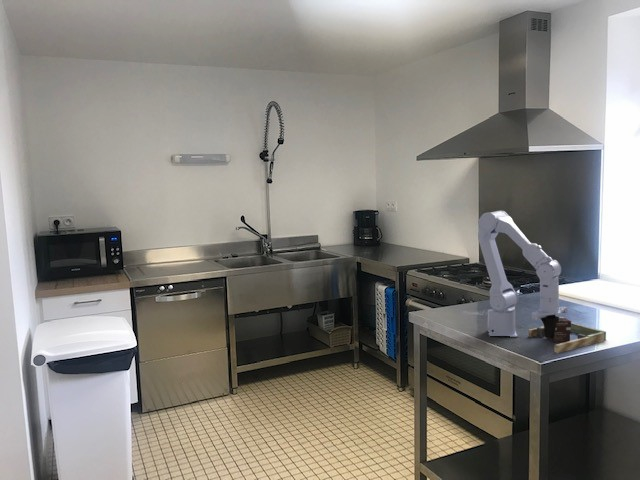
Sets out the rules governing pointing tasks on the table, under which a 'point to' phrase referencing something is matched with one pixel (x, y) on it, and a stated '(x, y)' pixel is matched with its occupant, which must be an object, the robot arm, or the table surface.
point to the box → (562, 330)
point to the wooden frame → (591, 338)
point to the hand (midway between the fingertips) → (549, 337)
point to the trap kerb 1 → (540, 332)
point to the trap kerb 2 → (581, 336)
